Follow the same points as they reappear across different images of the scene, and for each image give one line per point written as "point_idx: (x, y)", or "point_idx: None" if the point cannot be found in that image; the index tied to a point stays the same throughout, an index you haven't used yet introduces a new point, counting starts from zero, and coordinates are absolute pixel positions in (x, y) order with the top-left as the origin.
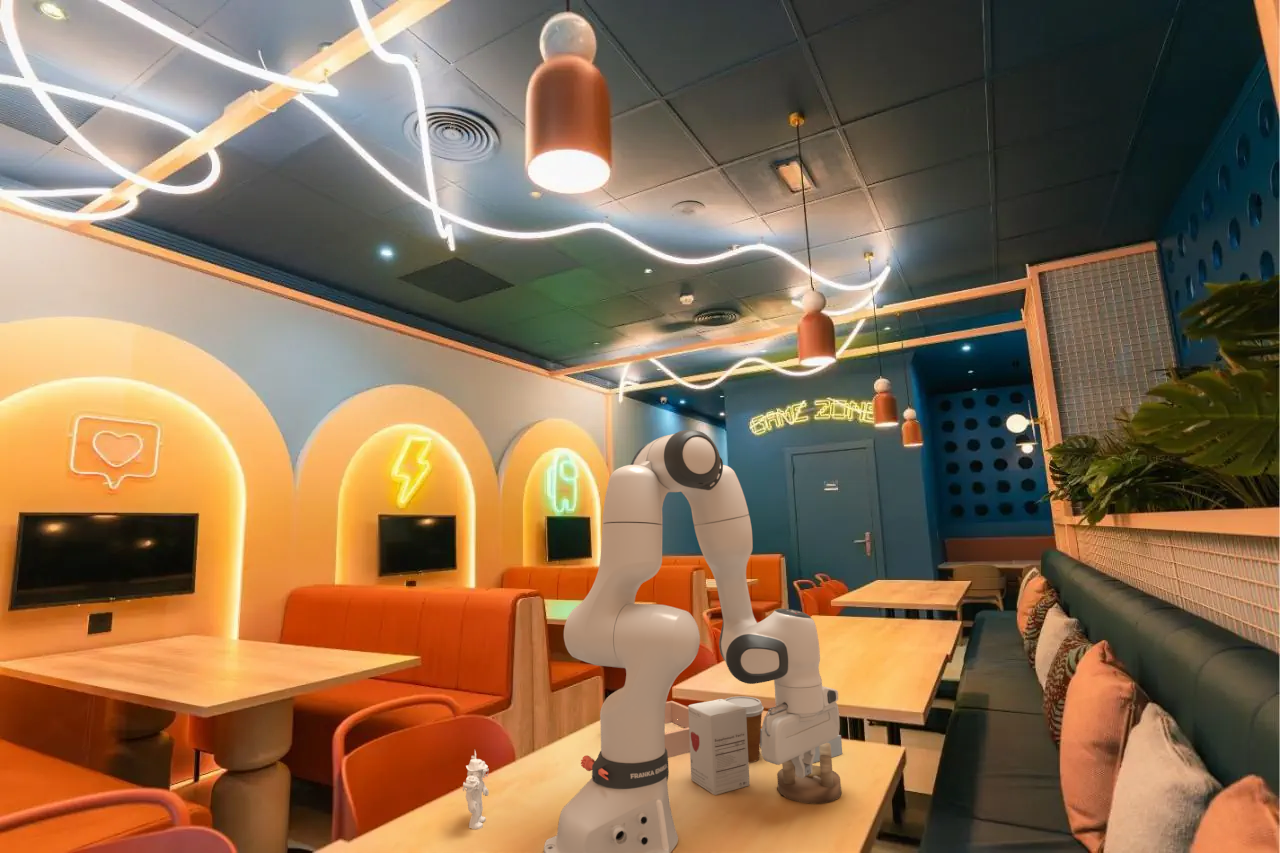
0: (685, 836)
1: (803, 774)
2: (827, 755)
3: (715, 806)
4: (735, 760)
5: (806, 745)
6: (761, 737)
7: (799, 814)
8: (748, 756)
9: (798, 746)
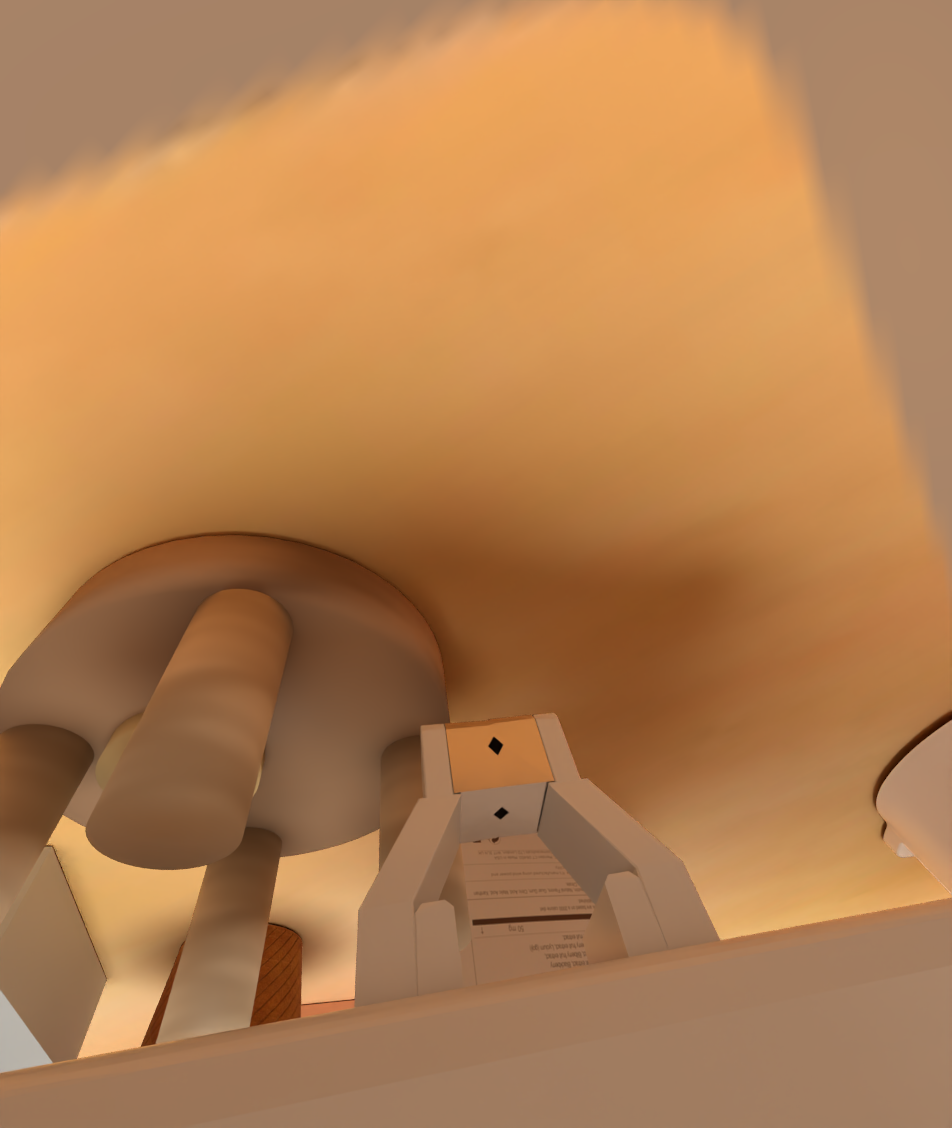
0: (942, 699)
1: (560, 732)
2: (105, 847)
3: (683, 776)
4: (538, 956)
5: (703, 1092)
6: (82, 1032)
7: (556, 562)
8: (263, 952)
9: (935, 1102)
